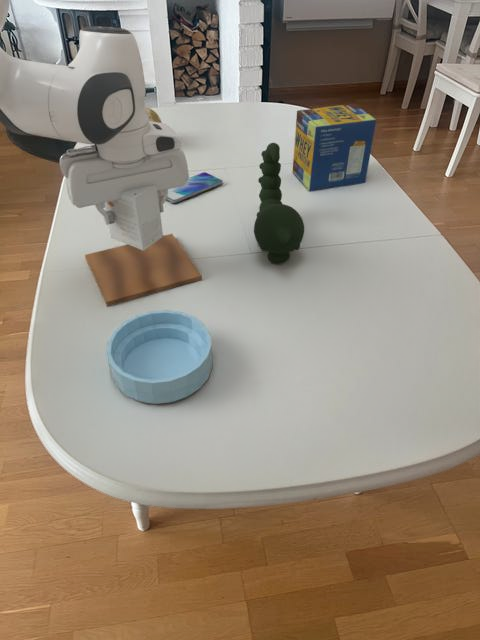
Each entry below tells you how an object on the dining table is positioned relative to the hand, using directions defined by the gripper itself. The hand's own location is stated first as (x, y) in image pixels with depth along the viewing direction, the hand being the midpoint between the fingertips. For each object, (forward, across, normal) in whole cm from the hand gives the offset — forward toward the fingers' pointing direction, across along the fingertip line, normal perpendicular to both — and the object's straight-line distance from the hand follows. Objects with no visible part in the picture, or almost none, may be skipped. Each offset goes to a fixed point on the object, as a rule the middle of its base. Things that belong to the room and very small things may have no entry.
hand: (134, 216), depth 92 cm
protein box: (+12, +53, +17) cm, 57 cm away
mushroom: (+12, +16, +55) cm, 59 cm away
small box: (+5, 0, 0) cm, 5 cm away
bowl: (+11, -5, -26) cm, 29 cm away
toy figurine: (+12, +27, -3) cm, 29 cm away
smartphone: (+11, +20, +26) cm, 35 cm away
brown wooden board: (+11, 0, 0) cm, 11 cm away
